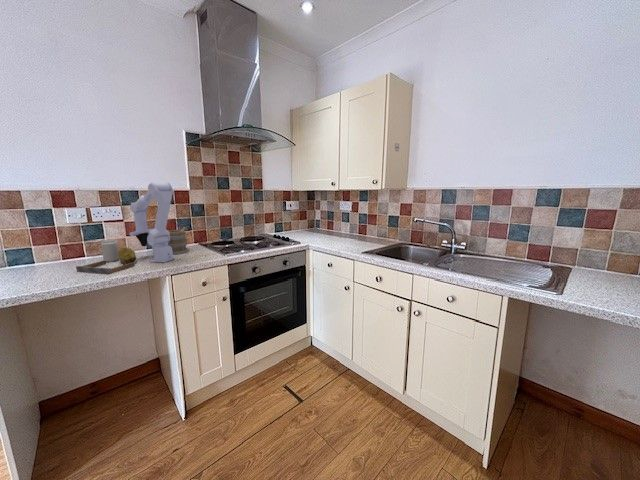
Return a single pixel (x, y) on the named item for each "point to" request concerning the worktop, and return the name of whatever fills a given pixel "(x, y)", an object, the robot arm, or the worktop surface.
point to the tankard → (178, 241)
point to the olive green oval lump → (127, 255)
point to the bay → (95, 269)
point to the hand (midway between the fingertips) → (144, 246)
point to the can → (110, 250)
